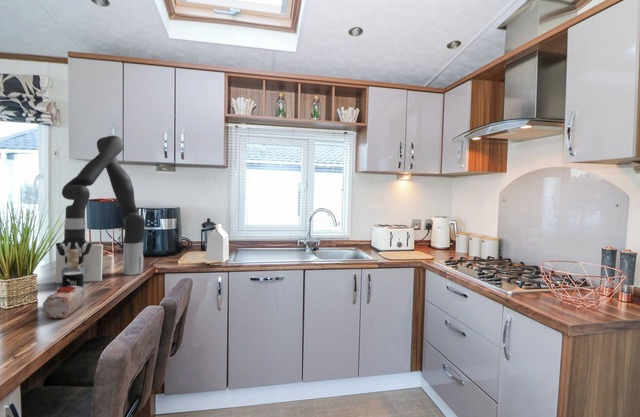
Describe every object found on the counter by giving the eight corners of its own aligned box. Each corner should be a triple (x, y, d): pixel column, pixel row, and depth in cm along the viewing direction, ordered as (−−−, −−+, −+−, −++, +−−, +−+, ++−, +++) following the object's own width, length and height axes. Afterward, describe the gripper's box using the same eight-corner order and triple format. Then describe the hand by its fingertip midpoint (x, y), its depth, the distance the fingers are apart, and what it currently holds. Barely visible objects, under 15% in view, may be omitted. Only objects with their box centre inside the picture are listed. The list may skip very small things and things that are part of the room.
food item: (67, 320, 103) (68, 292, 103) (39, 321, 101) (40, 292, 101) (86, 306, 116) (87, 281, 116) (61, 307, 114) (62, 281, 114)
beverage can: (59, 306, 115) (60, 275, 114) (64, 300, 120) (65, 271, 120) (80, 304, 118) (81, 274, 117) (84, 298, 124) (85, 270, 123)
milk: (222, 265, 193) (224, 226, 192) (205, 264, 193) (206, 225, 192) (228, 262, 205) (230, 224, 204) (212, 261, 205) (213, 223, 204)
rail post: (80, 270, 142) (81, 247, 142) (77, 272, 138) (78, 249, 138) (70, 271, 140) (71, 247, 140) (66, 273, 137) (67, 249, 136)
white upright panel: (101, 279, 150) (102, 244, 150) (94, 286, 140) (95, 248, 139) (57, 281, 144) (58, 244, 143) (45, 288, 133) (46, 248, 132)
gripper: (96, 227, 145) (95, 262, 145) (59, 226, 140) (58, 262, 140) (90, 228, 138) (89, 265, 138) (52, 228, 133) (51, 266, 133)
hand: (74, 263), depth 139 cm, fingers closed on rail post, 4 cm apart
